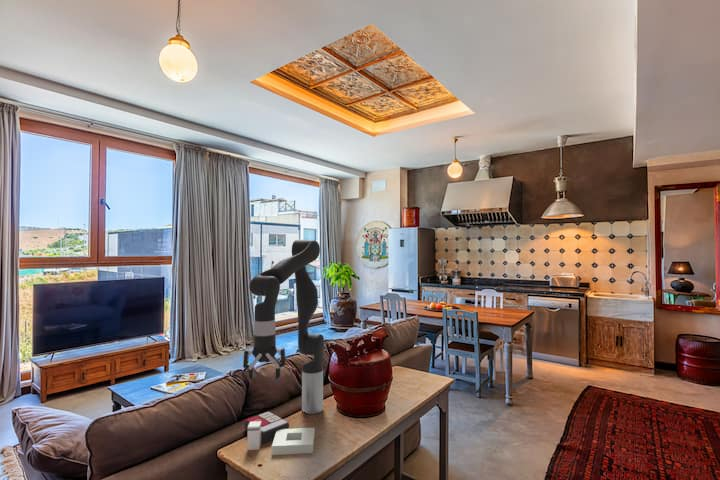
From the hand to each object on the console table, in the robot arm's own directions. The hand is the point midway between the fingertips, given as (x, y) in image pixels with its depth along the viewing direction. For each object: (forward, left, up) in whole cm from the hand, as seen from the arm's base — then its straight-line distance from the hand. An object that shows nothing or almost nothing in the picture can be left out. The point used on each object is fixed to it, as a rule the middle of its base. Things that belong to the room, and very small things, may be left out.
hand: (264, 379), depth 127 cm
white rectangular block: (-3, -4, -25) cm, 25 cm away
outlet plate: (-3, +10, -25) cm, 27 cm away
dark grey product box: (-14, -2, -24) cm, 28 cm away
